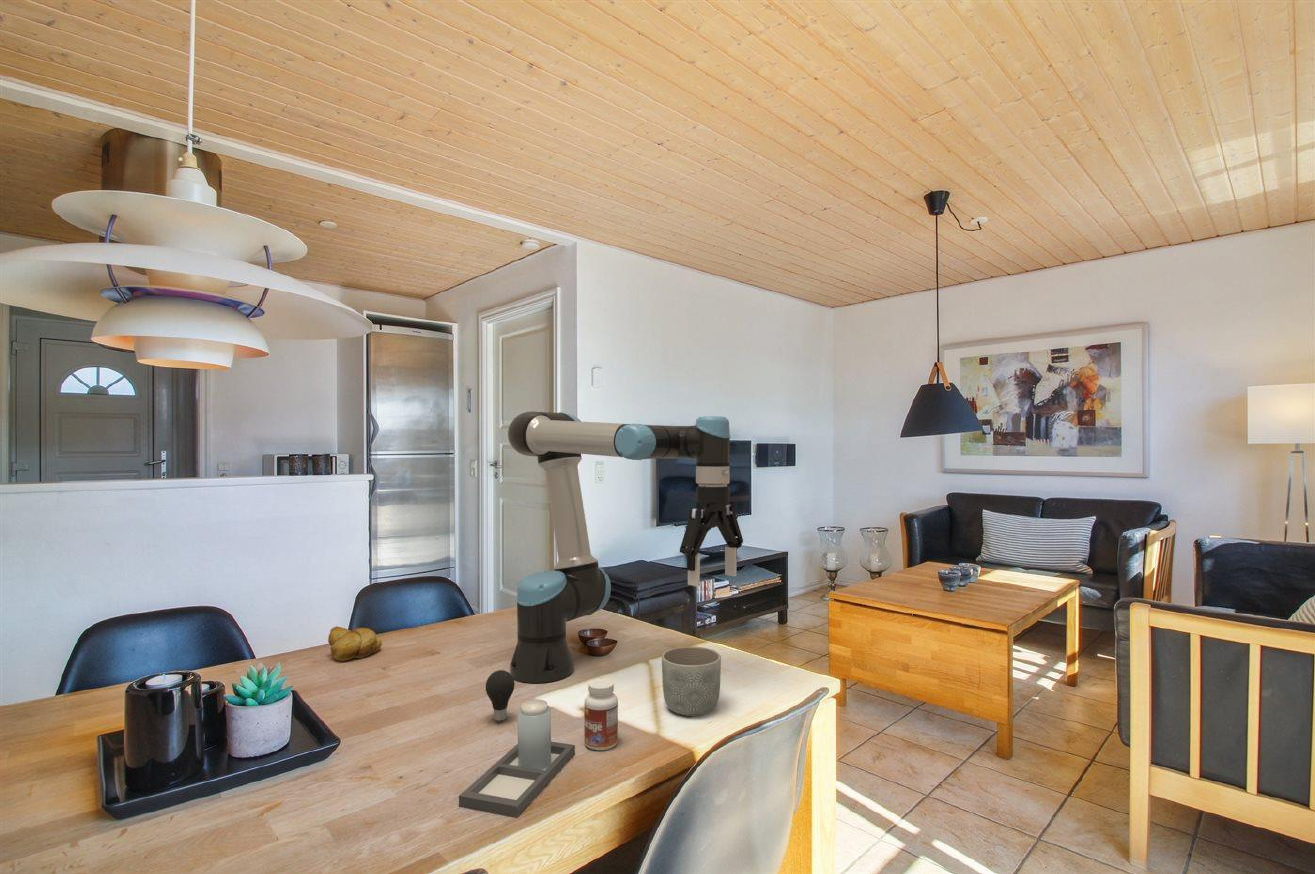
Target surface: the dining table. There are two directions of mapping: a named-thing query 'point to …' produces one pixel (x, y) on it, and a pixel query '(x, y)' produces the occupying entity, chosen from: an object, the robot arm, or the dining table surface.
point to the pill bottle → (601, 715)
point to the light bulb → (500, 692)
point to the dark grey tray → (513, 782)
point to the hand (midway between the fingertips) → (712, 580)
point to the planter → (691, 680)
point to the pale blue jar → (534, 735)
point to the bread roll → (352, 643)
